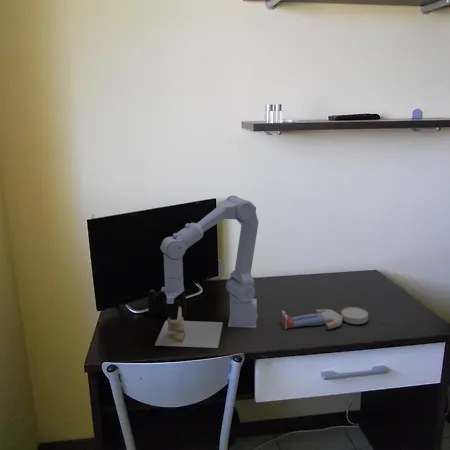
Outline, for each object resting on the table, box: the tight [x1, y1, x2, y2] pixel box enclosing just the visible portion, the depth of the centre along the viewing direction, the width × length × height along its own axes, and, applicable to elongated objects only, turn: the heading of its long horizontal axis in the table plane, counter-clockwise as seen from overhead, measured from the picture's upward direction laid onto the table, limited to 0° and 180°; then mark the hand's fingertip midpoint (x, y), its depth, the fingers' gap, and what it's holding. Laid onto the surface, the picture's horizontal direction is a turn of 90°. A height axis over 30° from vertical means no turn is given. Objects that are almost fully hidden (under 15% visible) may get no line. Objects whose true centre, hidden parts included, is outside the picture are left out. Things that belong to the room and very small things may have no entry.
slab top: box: [167, 317, 185, 334], centre depth 156 cm, size 5×5×3 cm
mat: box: [154, 319, 224, 349], centre depth 160 cm, size 20×17×1 cm
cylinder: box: [168, 306, 182, 324], centre depth 155 cm, size 4×4×4 cm
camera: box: [147, 289, 187, 319], centre depth 175 cm, size 14×11×10 cm
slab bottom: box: [167, 326, 185, 342], centre depth 157 cm, size 5×5×3 cm
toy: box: [280, 306, 369, 330], centre depth 167 cm, size 6×13×30 cm
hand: (175, 315), depth 155 cm, fingers open, 5 cm apart
